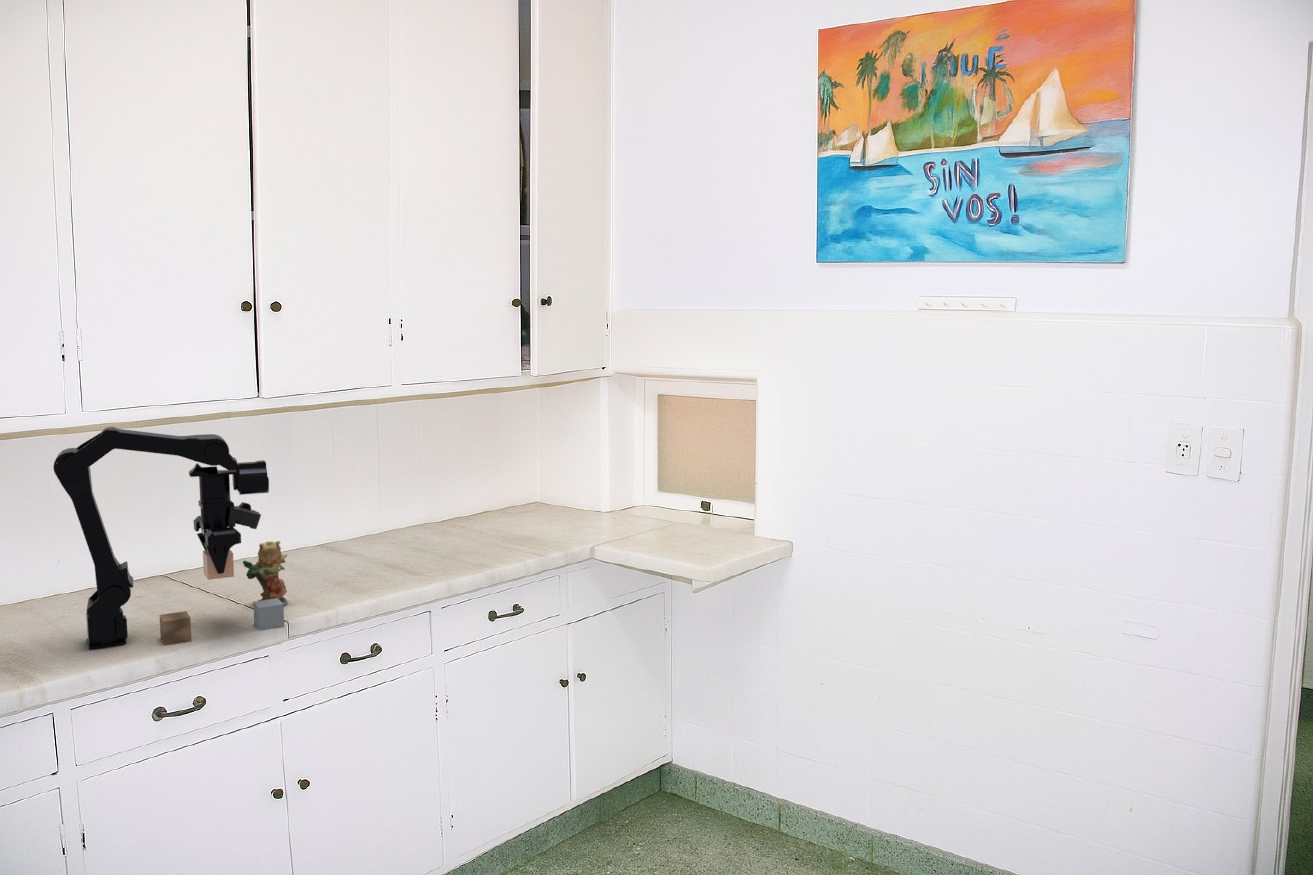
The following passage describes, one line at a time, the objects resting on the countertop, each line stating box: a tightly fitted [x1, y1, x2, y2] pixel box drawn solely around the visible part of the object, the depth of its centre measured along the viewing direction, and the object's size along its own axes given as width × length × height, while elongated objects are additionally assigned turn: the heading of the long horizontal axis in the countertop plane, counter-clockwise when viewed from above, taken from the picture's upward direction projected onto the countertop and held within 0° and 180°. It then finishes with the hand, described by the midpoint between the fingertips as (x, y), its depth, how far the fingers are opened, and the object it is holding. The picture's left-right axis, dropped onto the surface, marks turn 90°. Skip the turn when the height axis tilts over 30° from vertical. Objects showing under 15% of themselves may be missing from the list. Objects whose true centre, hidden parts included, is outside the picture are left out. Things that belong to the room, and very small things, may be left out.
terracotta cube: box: [202, 548, 235, 581], centre depth 211 cm, size 5×5×5 cm
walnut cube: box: [159, 610, 192, 646], centre depth 206 cm, size 5×5×5 cm
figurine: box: [242, 540, 288, 607], centre depth 229 cm, size 9×8×15 cm
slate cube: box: [252, 598, 285, 631], centre depth 215 cm, size 5×5×5 cm
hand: (218, 570), depth 211 cm, fingers closed on terracotta cube, 5 cm apart
